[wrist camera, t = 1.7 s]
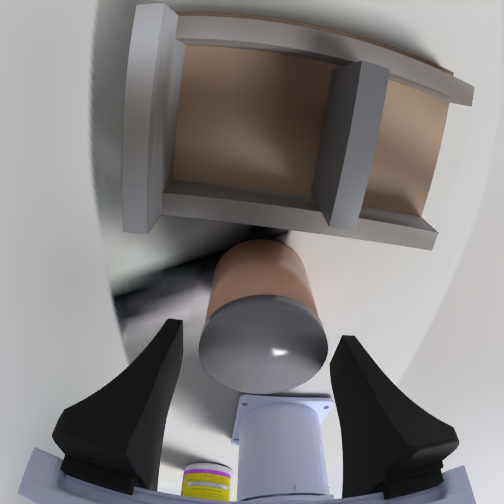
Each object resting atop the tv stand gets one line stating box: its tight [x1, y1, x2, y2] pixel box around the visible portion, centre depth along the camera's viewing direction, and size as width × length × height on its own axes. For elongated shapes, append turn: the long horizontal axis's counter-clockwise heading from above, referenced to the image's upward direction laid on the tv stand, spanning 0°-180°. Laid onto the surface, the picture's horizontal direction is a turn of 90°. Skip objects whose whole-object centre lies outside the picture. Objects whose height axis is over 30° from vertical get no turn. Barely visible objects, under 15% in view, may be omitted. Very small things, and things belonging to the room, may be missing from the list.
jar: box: [199, 239, 328, 394], centre depth 16 cm, size 6×6×6 cm
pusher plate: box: [311, 60, 390, 231], centre depth 11 cm, size 6×1×4 cm, turn 173°
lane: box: [122, 3, 474, 250], centre depth 12 cm, size 10×14×5 cm
